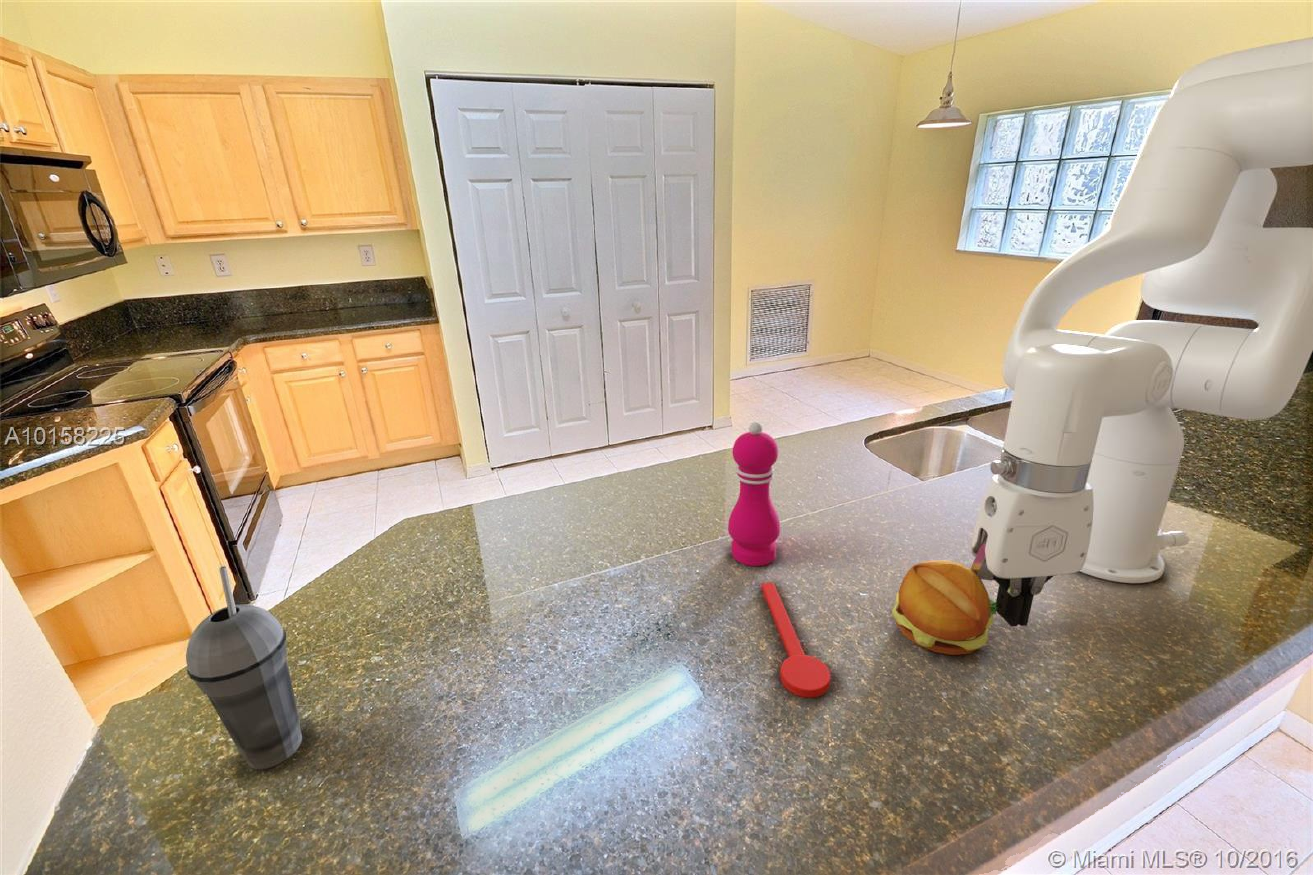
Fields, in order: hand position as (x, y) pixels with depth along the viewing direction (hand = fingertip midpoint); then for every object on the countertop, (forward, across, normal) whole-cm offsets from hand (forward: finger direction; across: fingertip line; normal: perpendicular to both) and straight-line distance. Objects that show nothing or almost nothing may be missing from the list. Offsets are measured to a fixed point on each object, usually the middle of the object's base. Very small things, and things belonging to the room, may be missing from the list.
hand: (1010, 617), depth 65 cm
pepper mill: (+2, -25, +19) cm, 32 cm away
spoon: (+2, -25, +1) cm, 25 cm away
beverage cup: (+2, -77, -8) cm, 77 cm away
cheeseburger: (+2, -8, 0) cm, 8 cm away
